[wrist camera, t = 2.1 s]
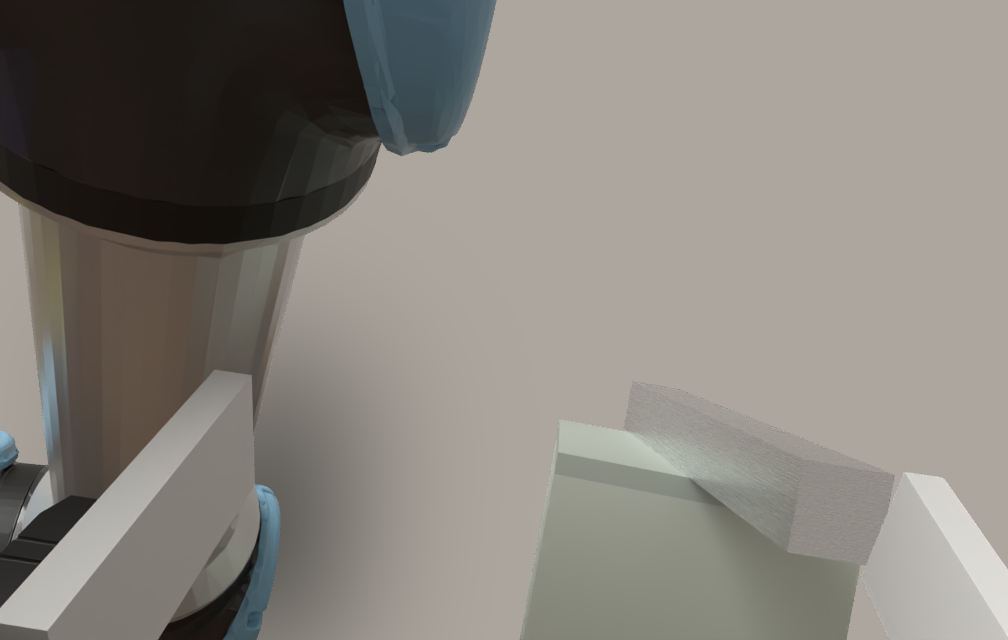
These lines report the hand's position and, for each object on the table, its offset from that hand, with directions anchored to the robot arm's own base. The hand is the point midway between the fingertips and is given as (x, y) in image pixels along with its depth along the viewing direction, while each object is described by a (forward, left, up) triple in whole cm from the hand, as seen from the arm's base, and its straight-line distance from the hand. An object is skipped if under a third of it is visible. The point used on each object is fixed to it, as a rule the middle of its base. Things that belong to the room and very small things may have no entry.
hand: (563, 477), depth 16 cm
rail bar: (-4, +22, -3) cm, 23 cm away
